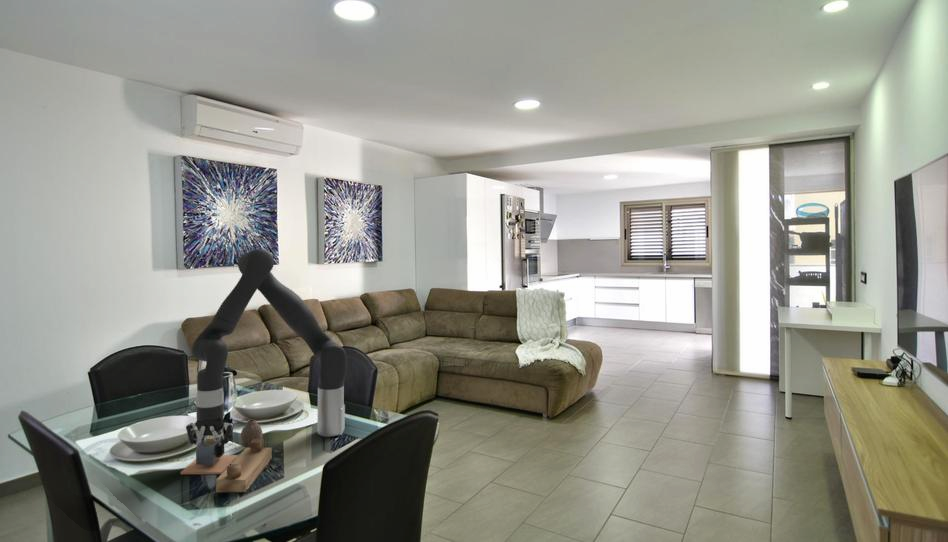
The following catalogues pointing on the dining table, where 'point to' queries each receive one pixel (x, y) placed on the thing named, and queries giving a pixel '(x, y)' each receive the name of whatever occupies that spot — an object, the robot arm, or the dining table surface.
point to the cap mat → (210, 466)
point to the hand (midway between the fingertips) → (210, 456)
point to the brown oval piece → (250, 433)
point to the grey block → (207, 452)
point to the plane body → (244, 468)
